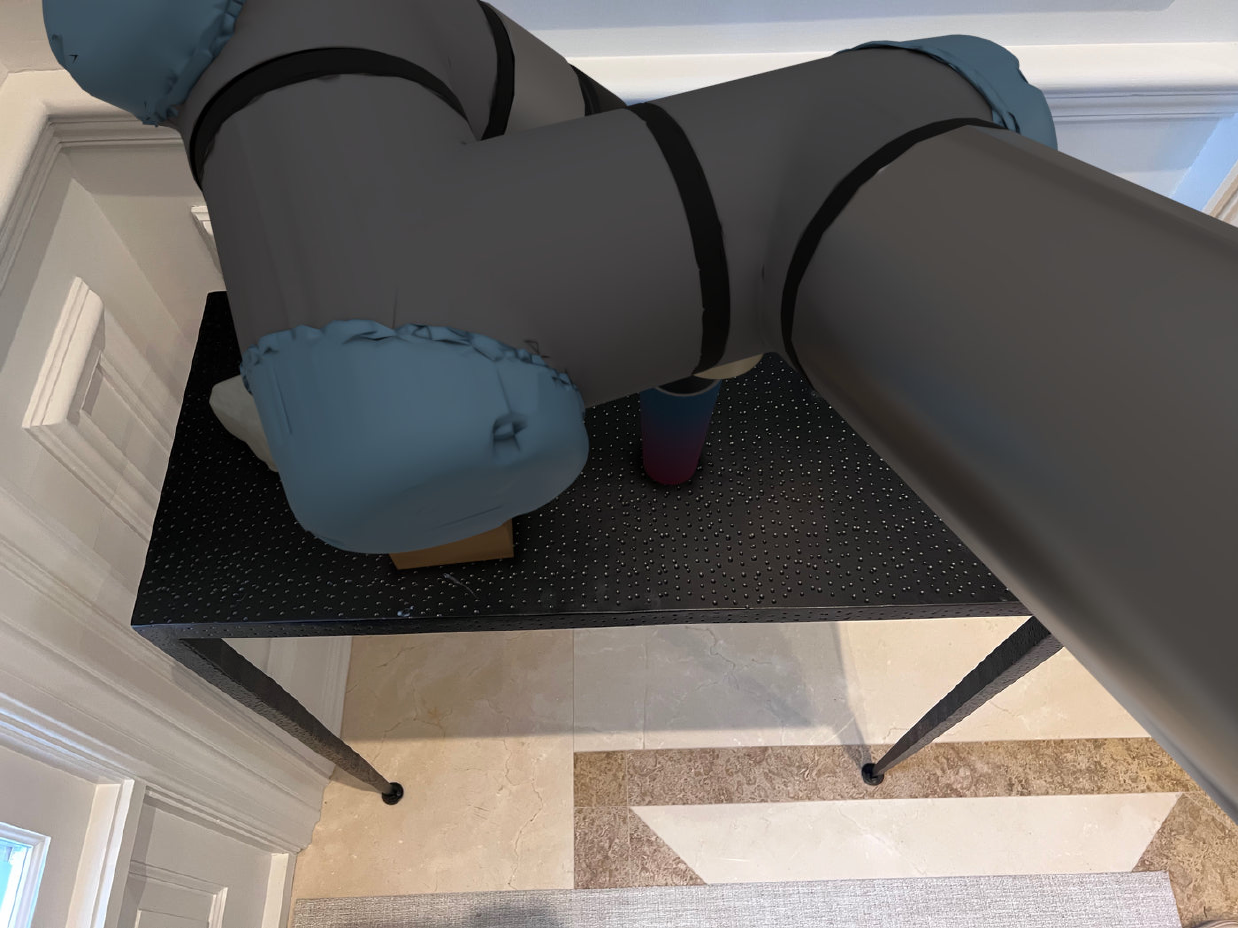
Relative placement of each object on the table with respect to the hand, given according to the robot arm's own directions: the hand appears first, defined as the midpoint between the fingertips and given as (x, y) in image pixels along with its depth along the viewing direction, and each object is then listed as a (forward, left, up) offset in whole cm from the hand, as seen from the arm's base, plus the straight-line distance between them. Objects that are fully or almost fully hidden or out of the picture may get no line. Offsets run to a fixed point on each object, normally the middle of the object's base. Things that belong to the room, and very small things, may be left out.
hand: (762, 275), depth 50 cm
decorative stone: (+11, +39, -26) cm, 48 cm away
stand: (0, +24, -26) cm, 36 cm away
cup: (+3, +4, -26) cm, 27 cm away
